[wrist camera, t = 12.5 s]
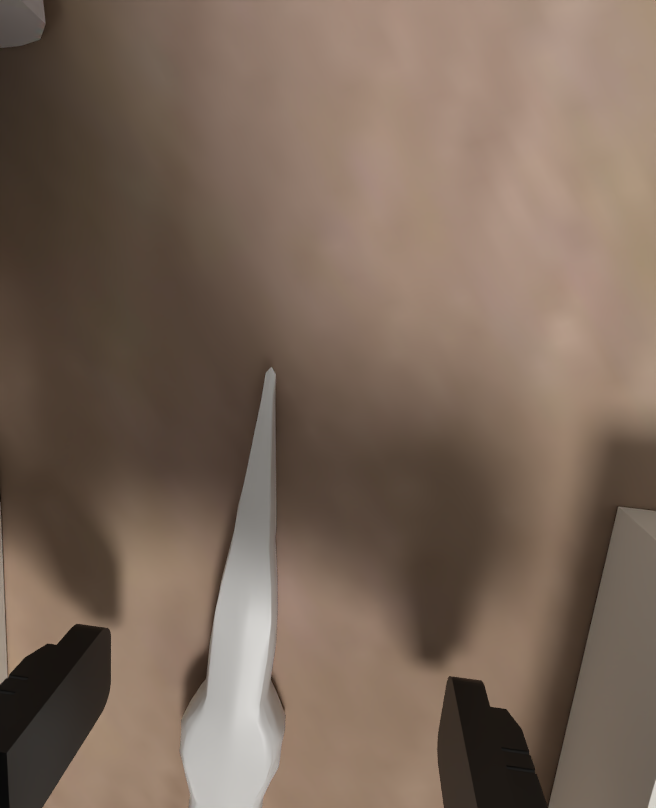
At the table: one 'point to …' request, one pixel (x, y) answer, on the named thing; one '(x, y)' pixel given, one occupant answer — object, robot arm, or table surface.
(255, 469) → the white tapered spike
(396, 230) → the table surface
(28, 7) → the cable
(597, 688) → the rails
